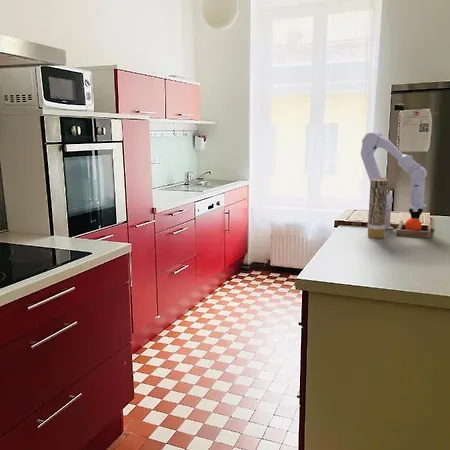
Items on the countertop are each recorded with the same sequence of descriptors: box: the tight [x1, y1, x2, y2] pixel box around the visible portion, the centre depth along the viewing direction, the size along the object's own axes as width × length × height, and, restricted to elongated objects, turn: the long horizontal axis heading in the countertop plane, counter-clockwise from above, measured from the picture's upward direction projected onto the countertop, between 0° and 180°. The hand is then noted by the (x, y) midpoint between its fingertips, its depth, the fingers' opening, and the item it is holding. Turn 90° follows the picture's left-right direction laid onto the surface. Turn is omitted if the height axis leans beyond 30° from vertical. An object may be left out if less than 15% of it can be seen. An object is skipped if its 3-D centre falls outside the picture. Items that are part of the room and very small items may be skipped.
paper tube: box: [367, 177, 389, 240], centre depth 199 cm, size 7×7×25 cm
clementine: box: [404, 218, 422, 231], centre depth 207 cm, size 8×7×7 cm
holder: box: [395, 220, 432, 239], centre depth 211 cm, size 21×13×2 cm, turn 156°
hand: (414, 224), depth 211 cm, fingers closed
